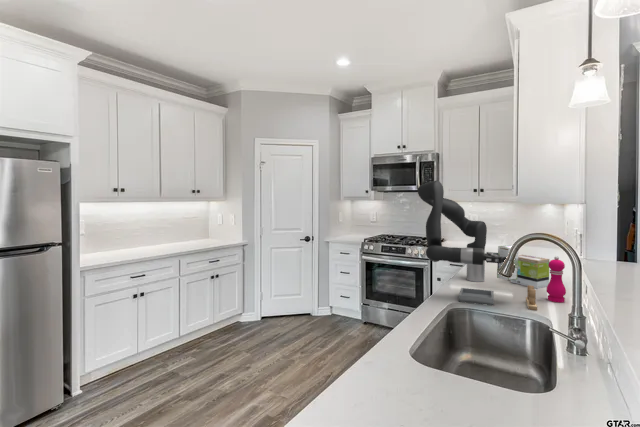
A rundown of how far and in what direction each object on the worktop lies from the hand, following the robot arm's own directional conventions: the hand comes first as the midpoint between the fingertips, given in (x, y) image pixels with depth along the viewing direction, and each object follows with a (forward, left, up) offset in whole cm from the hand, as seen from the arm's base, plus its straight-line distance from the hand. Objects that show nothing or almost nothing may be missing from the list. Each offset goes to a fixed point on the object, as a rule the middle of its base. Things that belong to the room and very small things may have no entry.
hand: (512, 258), depth 153 cm
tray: (0, -14, -20) cm, 24 cm away
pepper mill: (-12, +18, -20) cm, 29 cm away
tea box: (-40, +10, -20) cm, 46 cm away
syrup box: (0, -2, -9) cm, 9 cm away
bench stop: (0, +7, -20) cm, 21 cm away
